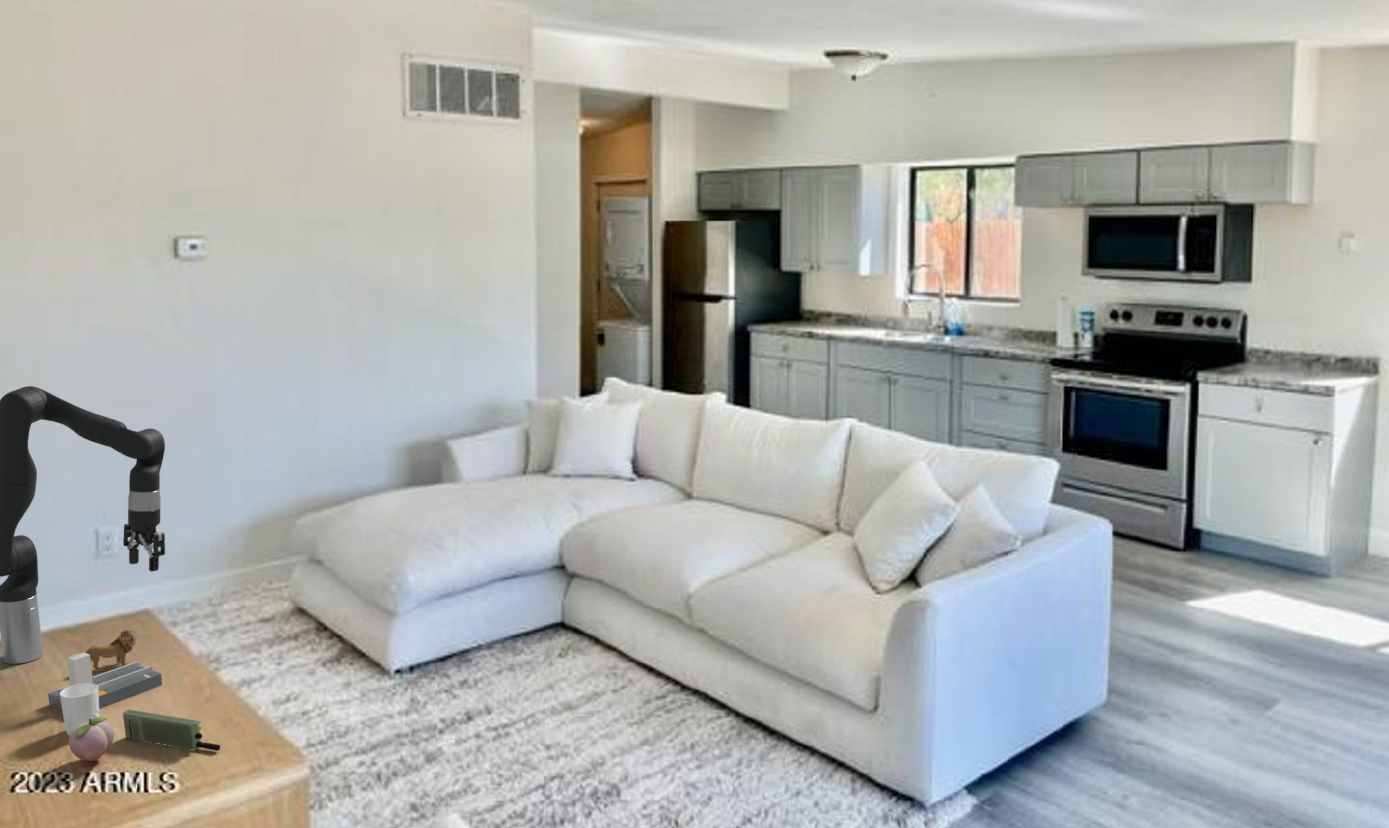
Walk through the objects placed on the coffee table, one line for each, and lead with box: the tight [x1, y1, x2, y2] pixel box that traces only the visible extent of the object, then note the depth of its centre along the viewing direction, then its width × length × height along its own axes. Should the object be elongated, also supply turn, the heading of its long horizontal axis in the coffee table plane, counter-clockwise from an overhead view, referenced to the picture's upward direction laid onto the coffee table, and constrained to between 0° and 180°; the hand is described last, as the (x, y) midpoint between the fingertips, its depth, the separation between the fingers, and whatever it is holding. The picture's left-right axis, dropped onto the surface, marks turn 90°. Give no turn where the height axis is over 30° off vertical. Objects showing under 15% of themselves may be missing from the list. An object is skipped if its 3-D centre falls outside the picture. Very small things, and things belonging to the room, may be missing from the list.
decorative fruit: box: [68, 716, 115, 762], centre depth 249 cm, size 9×8×10 cm
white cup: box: [60, 683, 100, 737], centre depth 263 cm, size 8×8×10 cm
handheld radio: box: [122, 709, 221, 752], centre depth 257 cm, size 7×3×25 cm
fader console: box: [47, 660, 163, 711], centre depth 282 cm, size 12×22×4 cm, turn 148°
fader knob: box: [66, 652, 93, 686], centre depth 276 cm, size 4×4×9 cm
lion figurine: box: [85, 628, 137, 673], centre depth 299 cm, size 15×5×9 cm, turn 138°
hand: (143, 567), depth 295 cm, fingers open, 8 cm apart
